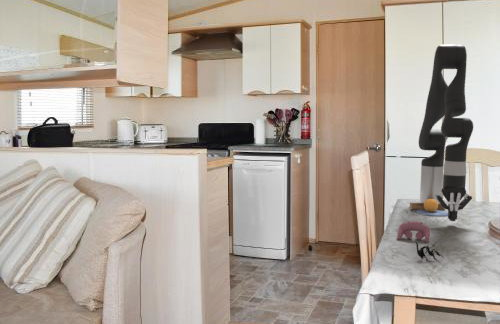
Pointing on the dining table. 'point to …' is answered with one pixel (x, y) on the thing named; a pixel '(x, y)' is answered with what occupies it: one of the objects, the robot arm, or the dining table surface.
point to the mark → (432, 213)
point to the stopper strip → (421, 206)
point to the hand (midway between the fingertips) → (452, 220)
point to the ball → (430, 205)
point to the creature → (421, 252)
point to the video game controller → (414, 226)
